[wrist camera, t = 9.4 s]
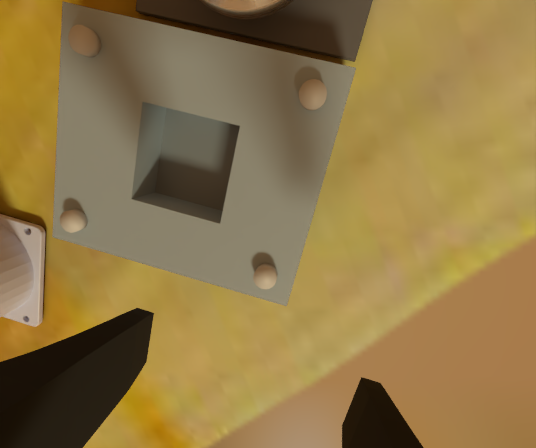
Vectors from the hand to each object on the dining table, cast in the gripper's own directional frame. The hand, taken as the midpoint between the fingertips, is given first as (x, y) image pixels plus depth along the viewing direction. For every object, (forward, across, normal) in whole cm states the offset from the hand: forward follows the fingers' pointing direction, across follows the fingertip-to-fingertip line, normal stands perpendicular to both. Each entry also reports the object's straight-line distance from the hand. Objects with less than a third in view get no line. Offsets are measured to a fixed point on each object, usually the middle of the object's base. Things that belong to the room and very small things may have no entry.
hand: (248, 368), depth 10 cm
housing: (+9, +6, -5) cm, 12 cm away
